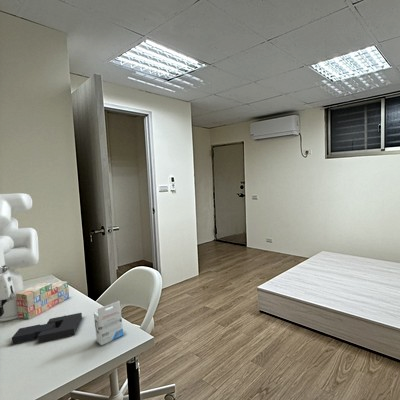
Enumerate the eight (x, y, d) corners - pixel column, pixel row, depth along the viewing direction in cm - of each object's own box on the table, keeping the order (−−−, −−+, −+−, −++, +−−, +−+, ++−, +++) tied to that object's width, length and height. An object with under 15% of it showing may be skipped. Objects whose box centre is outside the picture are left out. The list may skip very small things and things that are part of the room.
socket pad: (38, 342, 104) (37, 336, 104) (50, 324, 117) (49, 318, 117) (74, 334, 109) (73, 328, 109) (82, 318, 122) (81, 312, 121)
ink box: (118, 330, 111) (115, 297, 109) (123, 335, 107) (120, 300, 106) (95, 341, 104) (92, 305, 103) (100, 346, 101) (97, 309, 99)
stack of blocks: (59, 296, 145) (58, 275, 143) (69, 298, 143) (67, 276, 142) (17, 318, 124) (15, 292, 123) (28, 319, 123) (26, 294, 121)
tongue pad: (12, 344, 104) (11, 337, 104) (20, 334, 110) (19, 328, 110) (51, 336, 109) (50, 329, 108) (56, 327, 115) (55, 321, 115)
